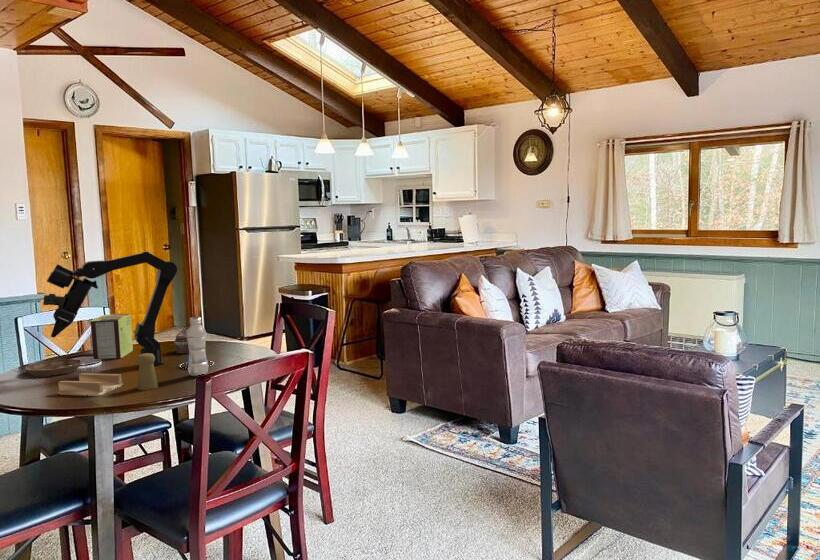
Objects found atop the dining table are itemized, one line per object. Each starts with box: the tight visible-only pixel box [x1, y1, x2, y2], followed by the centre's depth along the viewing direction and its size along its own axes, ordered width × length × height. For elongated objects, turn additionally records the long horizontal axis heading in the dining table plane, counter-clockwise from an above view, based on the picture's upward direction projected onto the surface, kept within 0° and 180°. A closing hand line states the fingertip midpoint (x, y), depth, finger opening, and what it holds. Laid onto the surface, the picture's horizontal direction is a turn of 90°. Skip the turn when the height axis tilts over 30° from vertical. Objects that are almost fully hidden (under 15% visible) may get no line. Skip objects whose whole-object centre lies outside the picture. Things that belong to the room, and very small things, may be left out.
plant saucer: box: [24, 358, 83, 377], centre depth 219 cm, size 18×18×3 cm
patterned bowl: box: [179, 353, 215, 370], centre depth 224 cm, size 12×12×5 cm
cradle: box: [57, 372, 124, 397], centre depth 194 cm, size 12×14×4 cm
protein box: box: [90, 313, 134, 360], centre depth 244 cm, size 10×15×16 cm
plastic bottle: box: [186, 316, 209, 377], centre depth 208 cm, size 6×7×20 cm
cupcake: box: [173, 326, 190, 354], centre depth 248 cm, size 10×10×10 cm
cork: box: [136, 353, 159, 391], centre depth 195 cm, size 6×6×11 cm
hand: (53, 335), depth 209 cm, fingers open, 9 cm apart
